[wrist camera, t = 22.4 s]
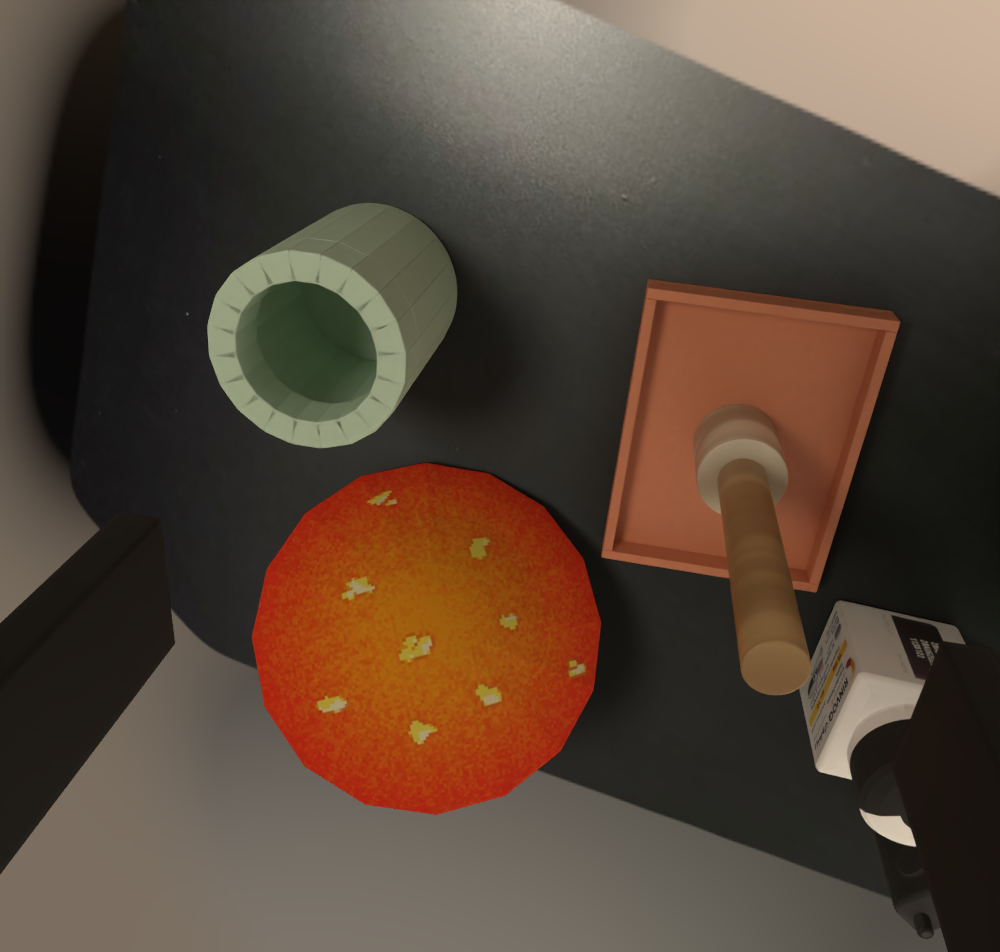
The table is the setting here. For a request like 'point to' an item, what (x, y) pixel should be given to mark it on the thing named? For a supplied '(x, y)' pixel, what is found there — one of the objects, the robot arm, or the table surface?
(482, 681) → the decorative mushroom
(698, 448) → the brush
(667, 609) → the table surface
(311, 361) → the jar
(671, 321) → the tray
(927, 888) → the walkie-talkie
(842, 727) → the container
